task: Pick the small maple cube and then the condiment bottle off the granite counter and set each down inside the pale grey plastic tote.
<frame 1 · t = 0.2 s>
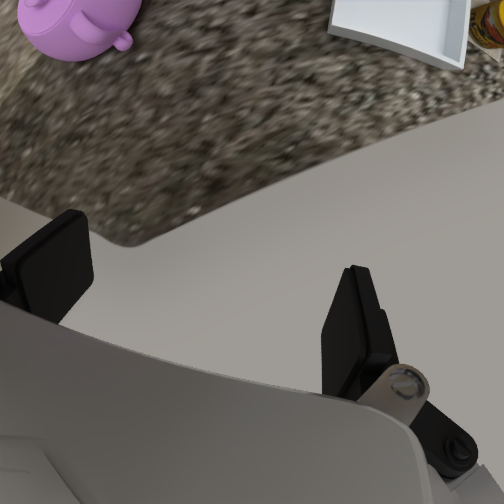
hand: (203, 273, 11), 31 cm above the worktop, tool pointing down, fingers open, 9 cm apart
condiment: (484, 24, 25), on the worktop
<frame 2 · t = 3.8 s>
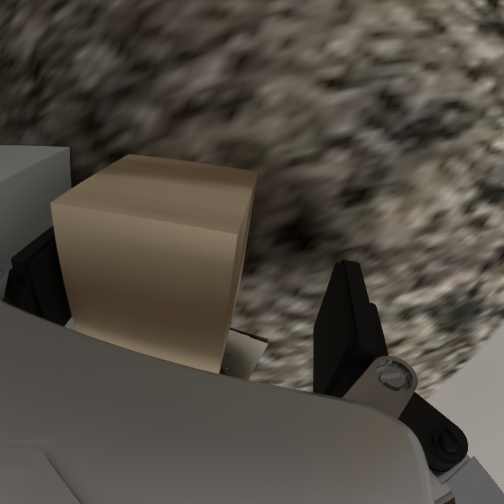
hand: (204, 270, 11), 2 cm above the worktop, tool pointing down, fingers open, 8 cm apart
tote: (5, 300, 17), on the worktop
cube: (186, 221, 13), on the worktop
condiment: (183, 363, 17), on the worktop
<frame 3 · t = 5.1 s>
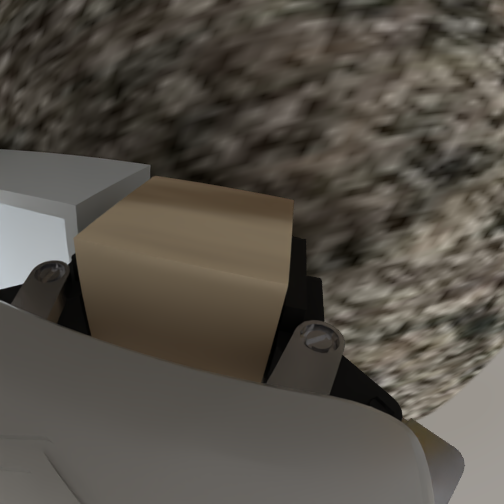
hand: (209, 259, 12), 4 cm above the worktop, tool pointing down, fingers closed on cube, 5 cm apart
tote: (59, 300, 20), on the worktop
cube: (214, 249, 12), point 3 cm above the worktop, touching gripper
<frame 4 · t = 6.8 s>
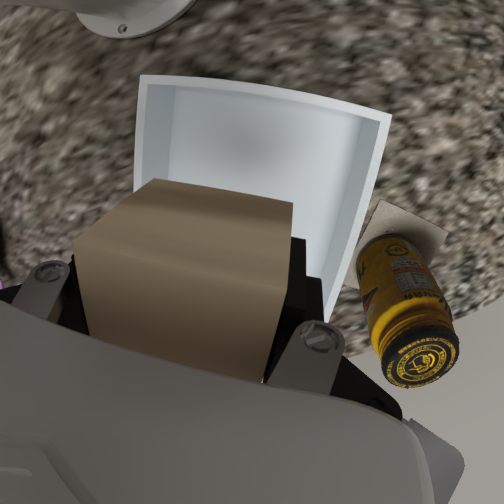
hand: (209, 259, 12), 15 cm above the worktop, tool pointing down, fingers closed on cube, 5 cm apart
tote: (249, 215, 27), on the worktop
cube: (213, 251, 12), point 14 cm above the worktop, touching gripper
condiment: (392, 255, 27), on the worktop
when the fingers open (3 cm above the worktop, at t = 9.2 s): cube drops 2 cm, resting on tote.
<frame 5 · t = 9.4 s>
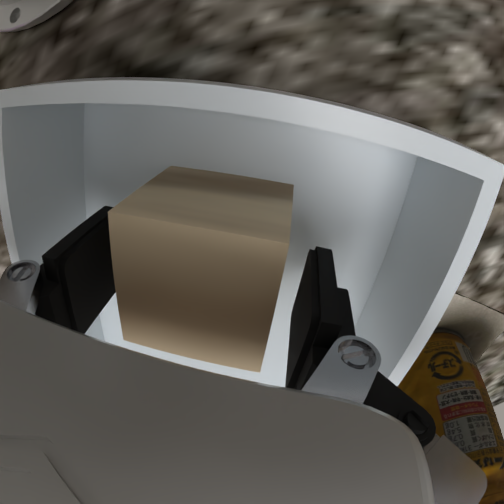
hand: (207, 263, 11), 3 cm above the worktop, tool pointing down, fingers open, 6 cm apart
tote: (217, 304, 17), on the worktop
cube: (224, 230, 14), point 1 cm above the worktop, touching tote
condiment: (432, 351, 17), on the worktop
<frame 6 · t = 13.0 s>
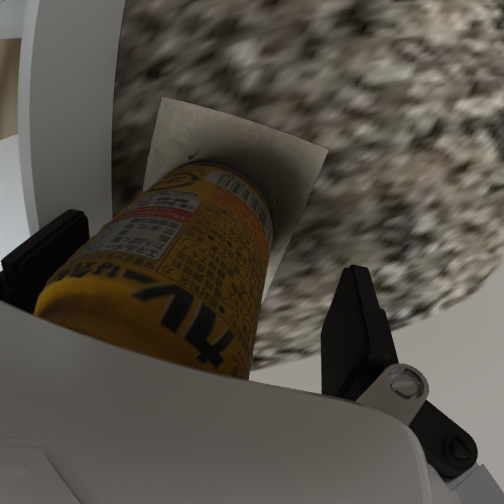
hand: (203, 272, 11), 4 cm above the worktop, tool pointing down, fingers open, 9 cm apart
tote: (10, 161, 14), on the worktop
cube: (1, 88, 12), point 1 cm above the worktop, touching tote
condiment: (217, 205, 15), on the worktop
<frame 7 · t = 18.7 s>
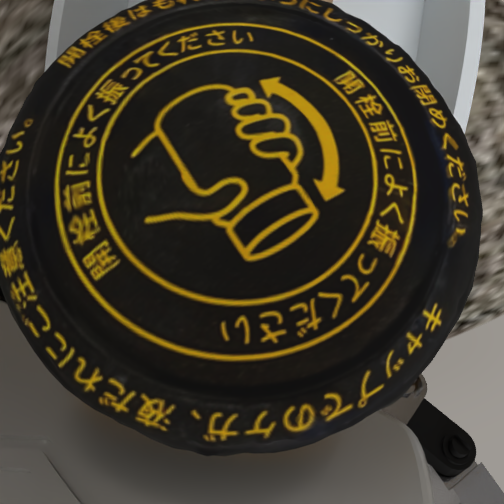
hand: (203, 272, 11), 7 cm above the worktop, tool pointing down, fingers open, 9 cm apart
tote: (254, 97, 14), on the worktop
condiment: (235, 254, 15), point 3 cm above the worktop, touching tote
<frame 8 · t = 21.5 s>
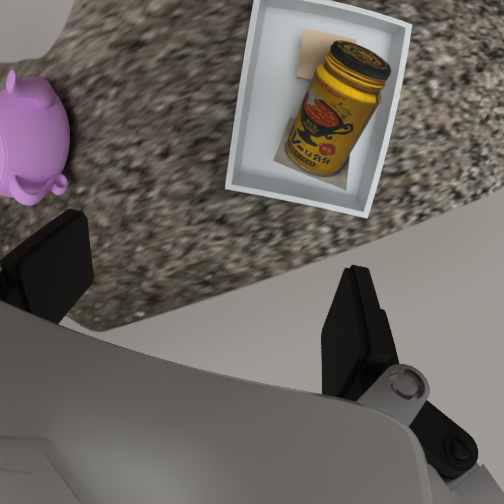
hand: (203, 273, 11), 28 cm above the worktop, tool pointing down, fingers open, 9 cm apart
teapot: (46, 121, 37), on the worktop
tote: (315, 99, 33), on the worktop
cube: (323, 61, 30), point 1 cm above the worktop, touching condiment, tote
condiment: (314, 152, 31), point 4 cm above the worktop, touching cube, tote
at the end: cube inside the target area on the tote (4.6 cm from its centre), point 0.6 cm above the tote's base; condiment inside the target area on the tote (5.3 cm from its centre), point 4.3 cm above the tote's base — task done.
